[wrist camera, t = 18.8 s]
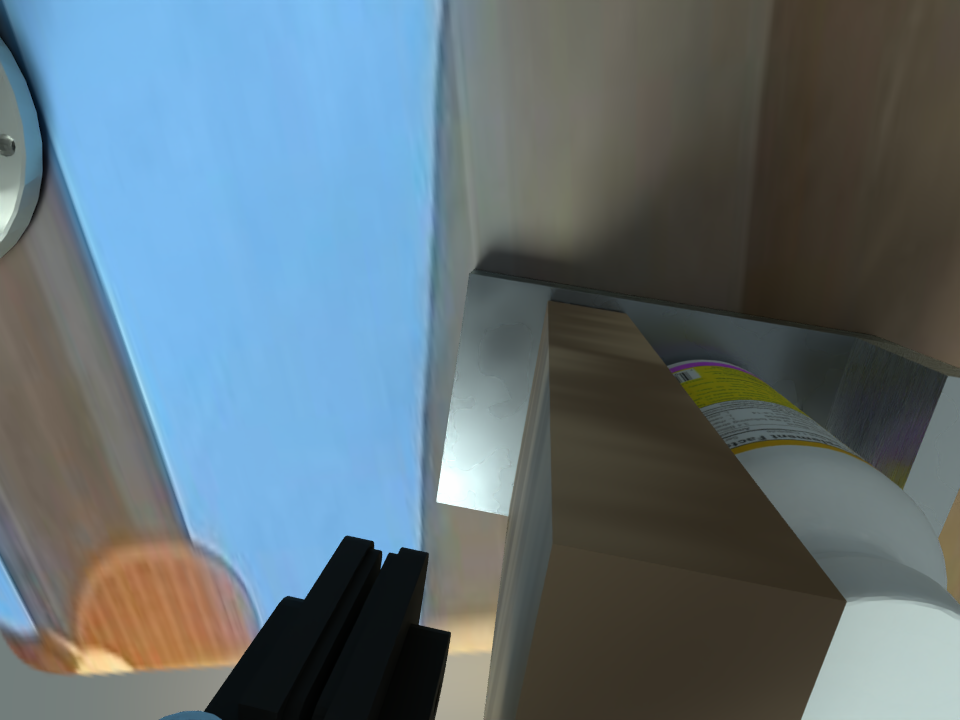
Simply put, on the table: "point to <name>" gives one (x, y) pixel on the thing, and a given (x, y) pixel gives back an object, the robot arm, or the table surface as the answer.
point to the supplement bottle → (847, 552)
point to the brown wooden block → (644, 552)
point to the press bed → (703, 336)
